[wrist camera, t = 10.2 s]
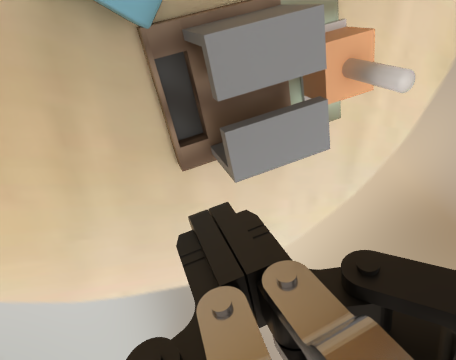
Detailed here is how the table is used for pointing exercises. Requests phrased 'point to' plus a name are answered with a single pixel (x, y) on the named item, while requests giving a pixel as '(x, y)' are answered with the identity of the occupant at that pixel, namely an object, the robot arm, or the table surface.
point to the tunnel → (266, 84)
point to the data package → (134, 10)
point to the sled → (352, 67)
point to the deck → (200, 86)
